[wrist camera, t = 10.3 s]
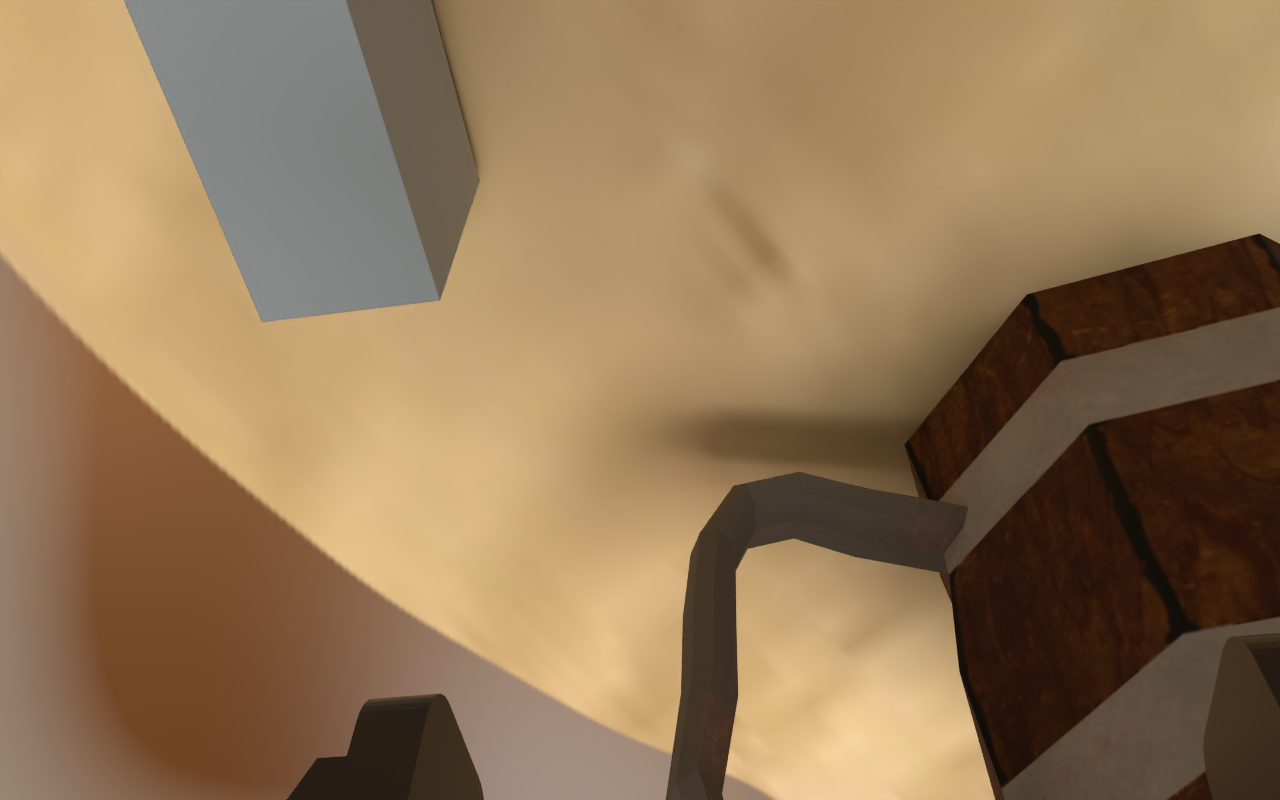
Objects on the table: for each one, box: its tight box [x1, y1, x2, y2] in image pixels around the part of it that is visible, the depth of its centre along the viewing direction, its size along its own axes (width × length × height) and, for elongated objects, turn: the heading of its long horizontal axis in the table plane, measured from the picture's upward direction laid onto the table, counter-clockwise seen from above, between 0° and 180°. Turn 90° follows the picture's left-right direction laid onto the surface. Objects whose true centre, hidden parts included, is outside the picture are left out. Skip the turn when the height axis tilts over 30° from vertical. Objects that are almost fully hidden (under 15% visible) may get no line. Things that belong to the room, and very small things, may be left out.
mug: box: [666, 234, 1280, 800], centre depth 24 cm, size 20×14×15 cm
